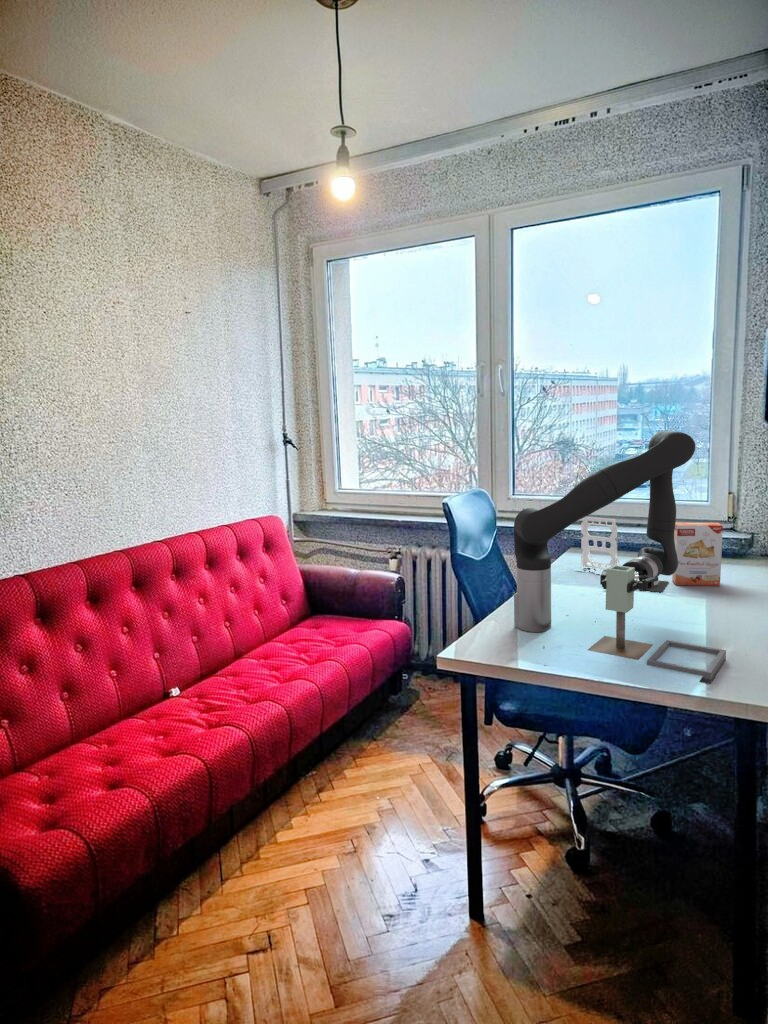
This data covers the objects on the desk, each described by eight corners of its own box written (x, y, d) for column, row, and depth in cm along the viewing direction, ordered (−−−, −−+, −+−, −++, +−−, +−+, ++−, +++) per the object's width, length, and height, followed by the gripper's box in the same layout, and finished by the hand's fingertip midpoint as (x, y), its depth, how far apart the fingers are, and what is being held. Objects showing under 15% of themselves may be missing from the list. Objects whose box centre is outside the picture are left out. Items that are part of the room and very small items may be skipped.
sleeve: (605, 609, 150) (606, 569, 149) (612, 604, 154) (613, 565, 153) (626, 612, 147) (627, 571, 146) (633, 607, 151) (634, 567, 150)
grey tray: (646, 671, 141) (647, 660, 140) (666, 649, 153) (666, 640, 153) (710, 684, 132) (710, 672, 132) (725, 660, 145) (726, 650, 144)
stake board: (587, 655, 151) (587, 613, 150) (604, 641, 160) (604, 601, 159) (638, 666, 144) (638, 622, 142) (653, 650, 153) (654, 608, 152)
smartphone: (669, 583, 215) (669, 581, 215) (661, 594, 202) (661, 591, 202) (645, 581, 219) (645, 579, 219) (637, 591, 206) (637, 589, 206)
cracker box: (675, 585, 210) (676, 524, 207) (671, 581, 216) (673, 521, 213) (721, 586, 207) (723, 524, 204) (716, 582, 212) (718, 521, 210)
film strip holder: (571, 570, 237) (571, 519, 234) (590, 564, 246) (590, 514, 243) (606, 576, 226) (606, 522, 224) (624, 569, 235) (625, 517, 233)
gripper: (611, 555, 165) (587, 567, 152) (668, 561, 156) (648, 575, 143) (610, 583, 166) (586, 597, 153) (667, 590, 157) (647, 607, 144)
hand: (616, 586), depth 148 cm, fingers closed on sleeve, 5 cm apart
